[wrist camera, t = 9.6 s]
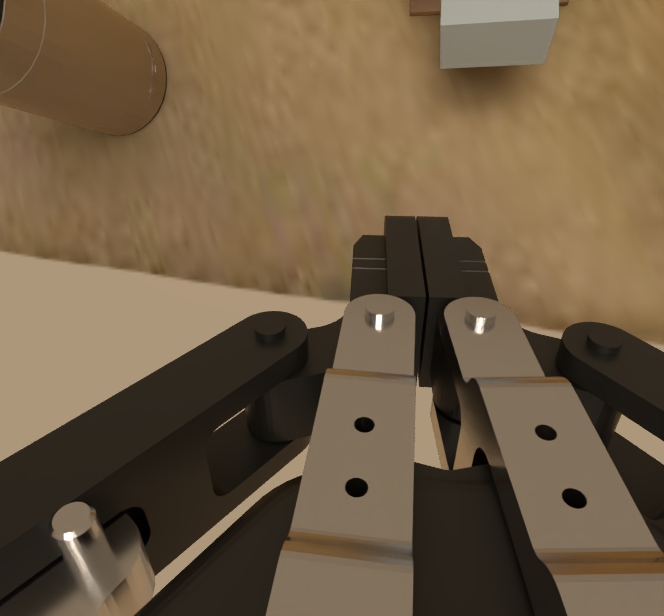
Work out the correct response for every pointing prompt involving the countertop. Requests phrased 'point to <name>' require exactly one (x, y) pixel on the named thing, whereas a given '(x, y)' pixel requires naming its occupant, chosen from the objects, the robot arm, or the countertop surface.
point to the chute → (496, 32)
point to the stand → (438, 6)
